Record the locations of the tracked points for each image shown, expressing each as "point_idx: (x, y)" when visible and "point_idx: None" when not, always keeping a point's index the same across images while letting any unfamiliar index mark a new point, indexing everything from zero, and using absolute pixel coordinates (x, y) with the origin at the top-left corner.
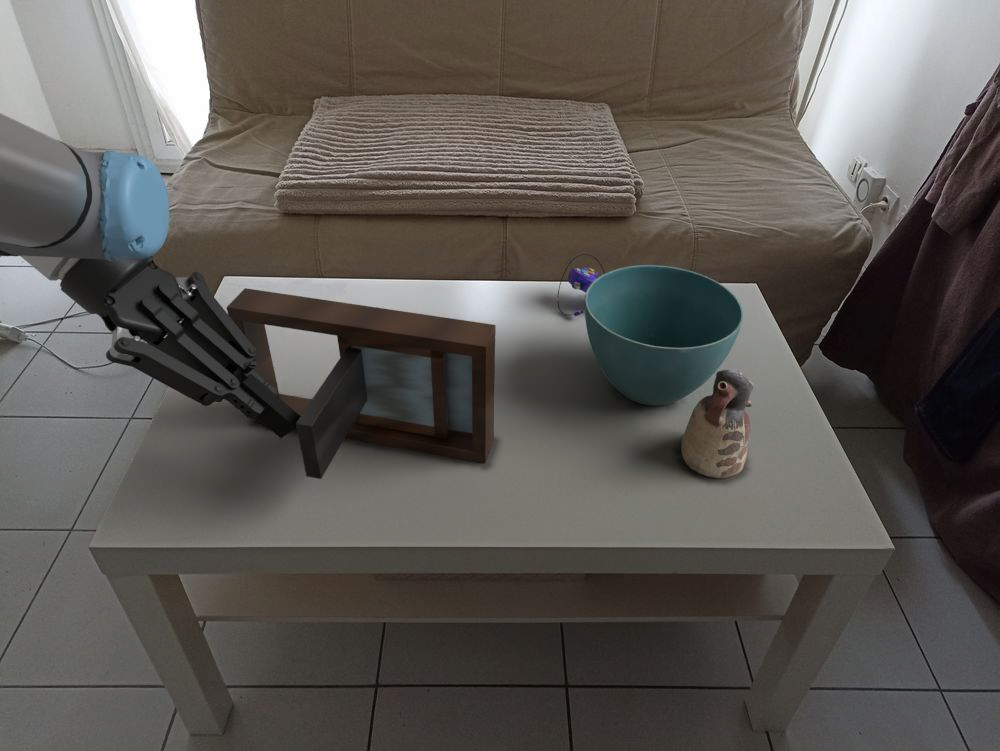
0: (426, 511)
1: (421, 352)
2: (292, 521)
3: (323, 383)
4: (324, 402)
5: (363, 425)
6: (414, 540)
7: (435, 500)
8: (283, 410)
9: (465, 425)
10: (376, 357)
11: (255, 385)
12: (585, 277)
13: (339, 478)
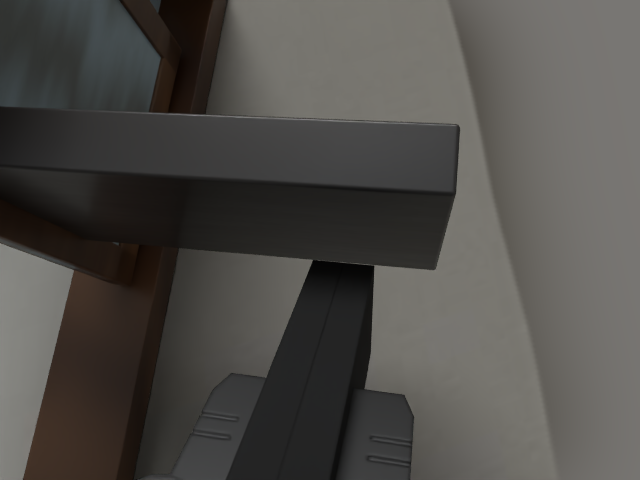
0: (376, 66)
1: None
2: (458, 343)
3: (167, 174)
4: (294, 126)
5: (139, 250)
6: (459, 68)
7: (342, 57)
8: (334, 311)
9: None
10: None
11: (287, 450)
12: None
13: (303, 274)
